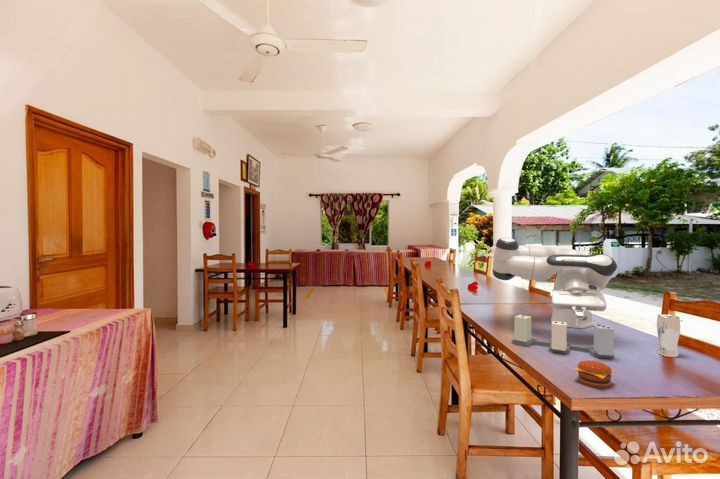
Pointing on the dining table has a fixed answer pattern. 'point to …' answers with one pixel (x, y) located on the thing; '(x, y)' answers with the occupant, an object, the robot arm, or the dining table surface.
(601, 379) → the hamburger
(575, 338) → the dining table surface
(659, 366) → the dining table surface
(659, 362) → the dining table surface
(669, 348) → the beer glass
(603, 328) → the key three dots
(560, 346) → the key two dots
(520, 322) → the key one dot
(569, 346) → the grey flat piece
